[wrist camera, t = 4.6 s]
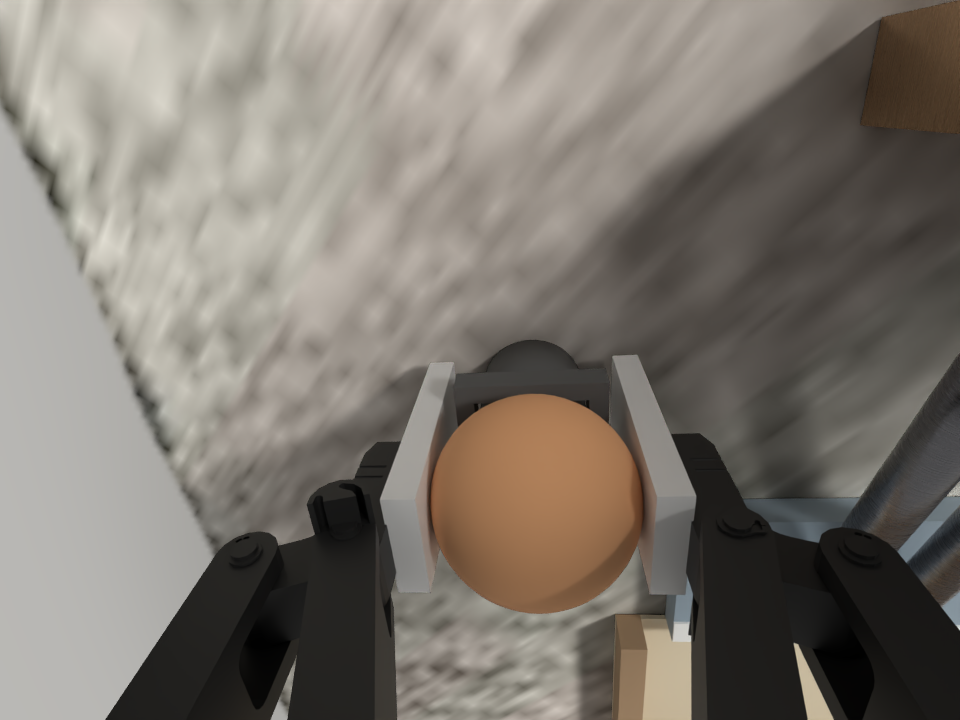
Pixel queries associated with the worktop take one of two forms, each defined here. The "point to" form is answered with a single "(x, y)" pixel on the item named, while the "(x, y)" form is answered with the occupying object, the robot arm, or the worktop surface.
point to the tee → (532, 379)
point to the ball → (536, 503)
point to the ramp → (956, 399)
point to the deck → (808, 524)
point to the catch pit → (671, 673)
